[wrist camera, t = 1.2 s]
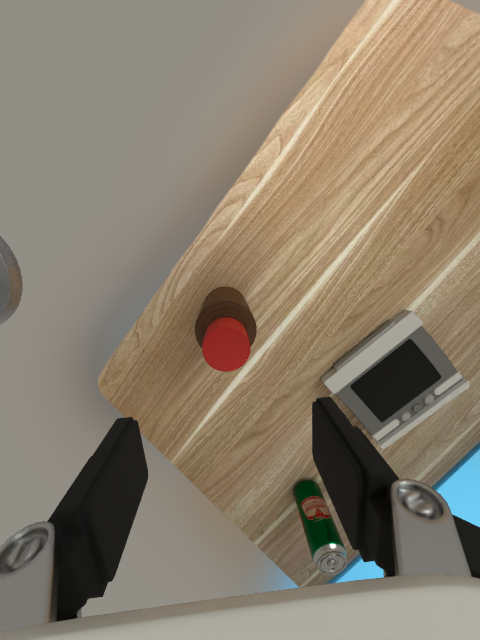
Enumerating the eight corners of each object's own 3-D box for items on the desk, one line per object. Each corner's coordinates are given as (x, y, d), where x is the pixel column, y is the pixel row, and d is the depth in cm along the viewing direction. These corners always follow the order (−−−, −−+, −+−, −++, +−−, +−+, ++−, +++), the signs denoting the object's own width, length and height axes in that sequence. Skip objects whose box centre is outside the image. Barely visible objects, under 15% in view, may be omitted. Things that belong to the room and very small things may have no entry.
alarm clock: (383, 449, 42) (330, 391, 37) (367, 429, 46) (317, 375, 41) (470, 385, 40) (426, 314, 35) (444, 371, 44) (402, 306, 39)
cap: (207, 358, 24) (205, 373, 21) (202, 319, 23) (199, 328, 20) (248, 355, 24) (251, 369, 21) (245, 315, 23) (248, 324, 20)
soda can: (319, 476, 46) (350, 549, 35) (318, 497, 48) (348, 575, 36) (292, 479, 46) (315, 553, 35) (292, 500, 48) (314, 579, 36)
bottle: (206, 330, 38) (193, 385, 22) (201, 288, 37) (183, 314, 20) (247, 326, 38) (265, 378, 22) (245, 284, 37) (261, 307, 20)
